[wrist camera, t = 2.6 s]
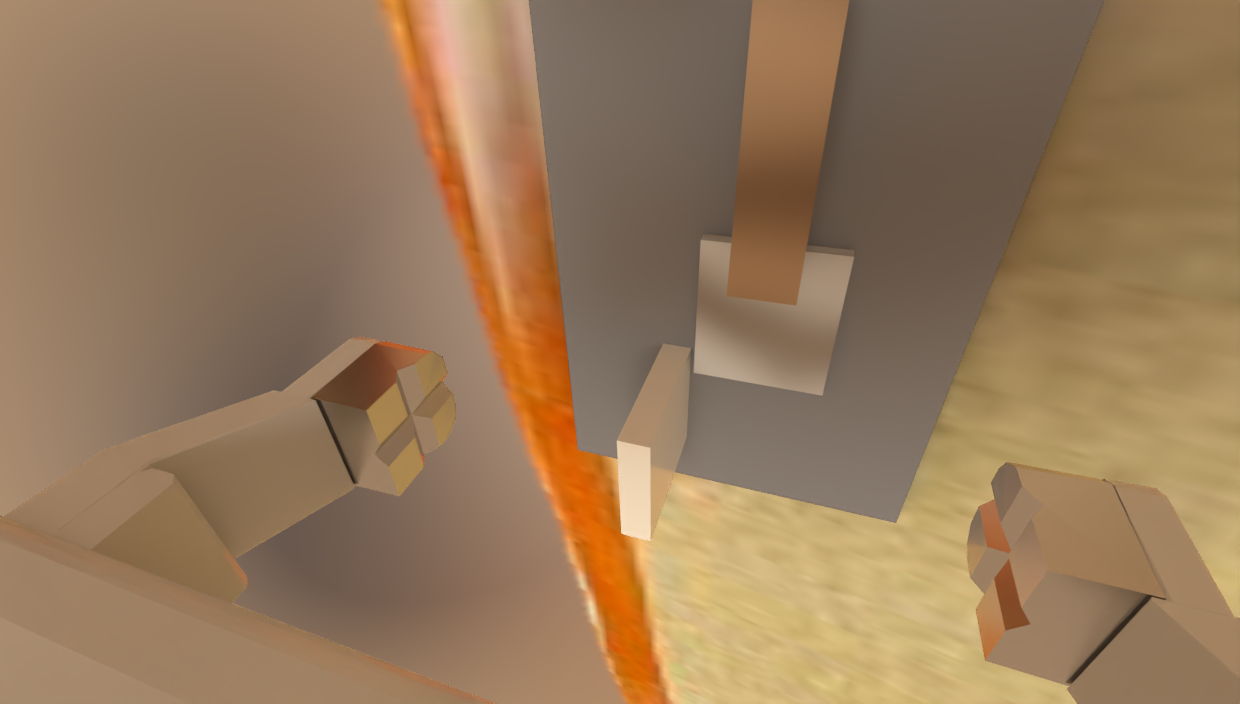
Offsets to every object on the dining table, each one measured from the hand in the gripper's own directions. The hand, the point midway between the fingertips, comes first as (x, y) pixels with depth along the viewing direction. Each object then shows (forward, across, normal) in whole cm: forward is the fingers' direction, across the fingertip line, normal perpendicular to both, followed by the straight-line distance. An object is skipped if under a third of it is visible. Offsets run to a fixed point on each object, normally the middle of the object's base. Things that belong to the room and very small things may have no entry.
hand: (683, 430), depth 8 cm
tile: (+16, +4, +13) cm, 21 cm away
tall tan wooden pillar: (+16, 0, +3) cm, 16 cm away
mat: (+17, +1, +6) cm, 18 cm away
